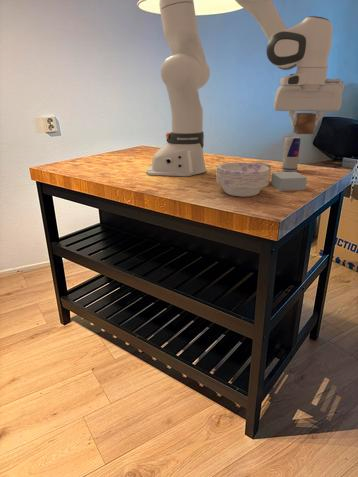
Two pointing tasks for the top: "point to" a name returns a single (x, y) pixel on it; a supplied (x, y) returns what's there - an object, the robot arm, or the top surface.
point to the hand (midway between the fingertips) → (304, 126)
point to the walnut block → (305, 123)
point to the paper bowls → (242, 178)
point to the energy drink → (291, 153)
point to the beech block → (265, 165)
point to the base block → (288, 181)
